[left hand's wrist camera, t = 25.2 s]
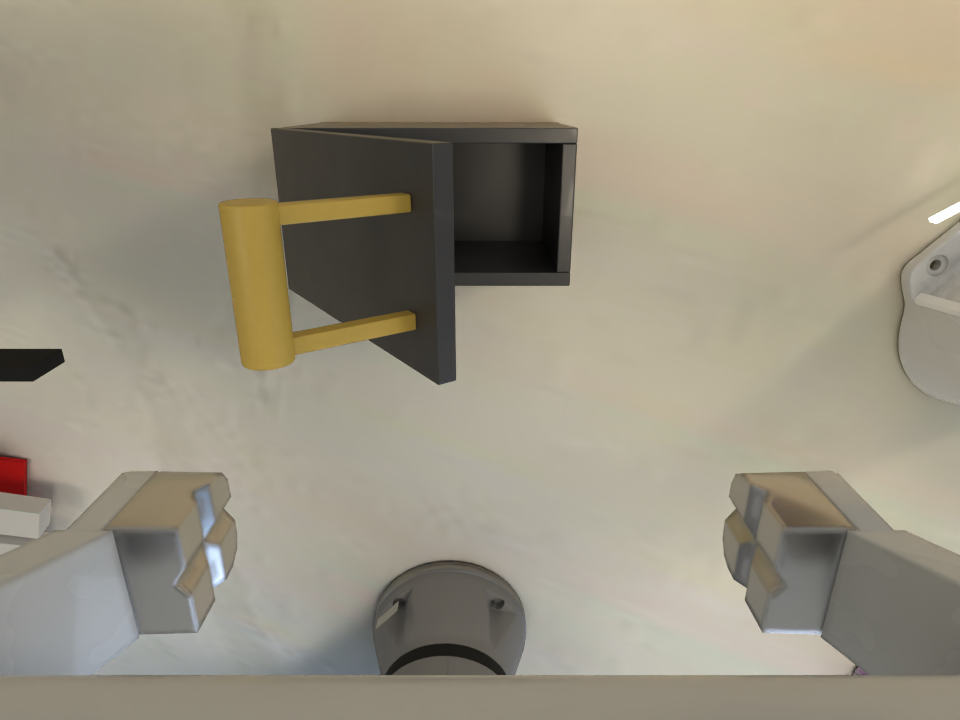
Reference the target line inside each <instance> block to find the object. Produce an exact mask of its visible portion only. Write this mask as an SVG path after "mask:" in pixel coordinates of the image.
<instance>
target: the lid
mask: <svg viewBox="0 0 960 720" xmlns="http://www.w3.org/2000/svg"><path fill="white" fill-rule="evenodd" d="M271 134H272V143H273V152H274V160H275V169H276V178H277V187H278V196H279V203H278V202H277V201H276V200H273V199H264V198H248V199H235V200H228V201H223V202H221V203H219V205H218V207H219V213H220V220H221V227H222V234H223V241H224V247H225V254H226V261H227V268H228V275H229V281H230V288H231V295H232V302H233V309H234V315H235V322H236V329H237V336H238V343H239V349H240V356H241V363H242V365H243V366H244V367H245V368H247V369H251V370H273V369H278V368H282V367H285V366H287V365H289V364H291V363H292V362H293V361H294V360H295V355H297V354H302V353H307V352H311V351H316V350H321V349H326V348H330V347H335V346H340V345H344V344H349V343H354V342H359V341H363V340H369V341H371V342H373V343H374V344H376V345H377V346H379V347H380V348H382V349H383V350H385V351H387V352H388V353H390V354H391V355H393V356H394V357H396V358H397V359H399V360H400V361H402V362H404V363H405V364H407V365H408V366H410V367H411V368H413V369H414V370H416V371H418V372H419V373H421V374H422V375H424V376H425V377H427V378H428V379H430V380H432V381H433V382H435V383H436V384H438V385H440V384H444V383H448V382H452V381H455V380H456V345H455V275H454V205H453V144H452V143H451V142H441V141H430V140H418V139H407V138H395V137H384V136H372V135H361V134H349V133H338V132H326V131H315V130H303V129H292V128H271ZM280 225H282V232H283V240H284V249H285V258H286V267H287V276H288V285H289V289H290V290H292V291H293V292H295V293H297V294H298V295H300V296H301V297H303V298H304V299H306V300H307V301H309V302H311V303H312V304H314V305H315V306H317V307H318V308H320V309H321V310H323V311H324V312H326V313H328V314H329V315H331V316H332V317H334V318H335V319H337V320H338V321H340V322H342V323H339V324H334V325H328V326H323V327H318V328H313V329H307V330H302V331H297V332H292V324H291V315H290V306H289V297H288V288H287V280H286V271H285V262H284V253H283V244H282V235H281V227H280Z"/></svg>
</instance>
